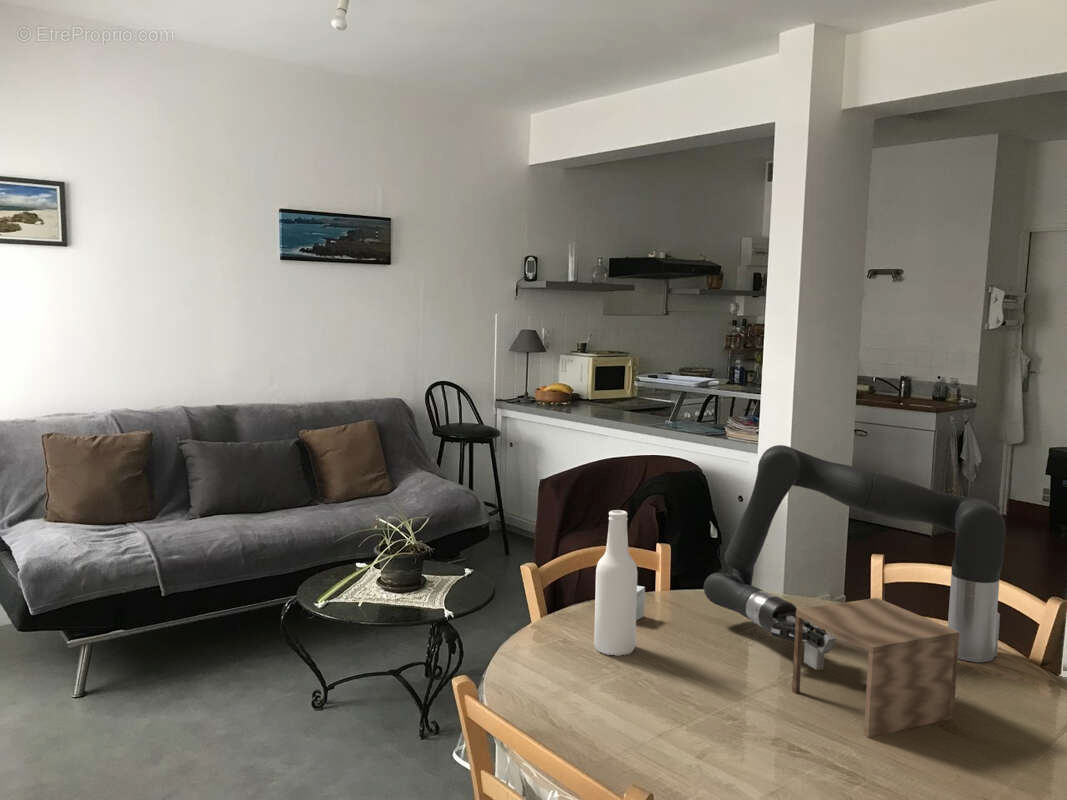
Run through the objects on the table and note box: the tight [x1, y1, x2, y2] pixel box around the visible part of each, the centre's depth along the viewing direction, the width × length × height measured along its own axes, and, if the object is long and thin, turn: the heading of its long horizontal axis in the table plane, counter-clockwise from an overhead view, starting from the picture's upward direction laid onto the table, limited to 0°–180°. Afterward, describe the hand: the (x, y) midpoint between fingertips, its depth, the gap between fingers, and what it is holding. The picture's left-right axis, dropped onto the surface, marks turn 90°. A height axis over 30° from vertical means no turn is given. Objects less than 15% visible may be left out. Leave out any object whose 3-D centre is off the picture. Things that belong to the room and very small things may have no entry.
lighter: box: [803, 633, 836, 670], centre depth 181 cm, size 7×2×8 cm, turn 21°
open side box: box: [791, 597, 959, 738], centre depth 168 cm, size 20×20×16 cm
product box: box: [636, 585, 646, 621], centre depth 212 cm, size 6×6×7 cm
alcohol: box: [593, 509, 638, 657], centre depth 192 cm, size 9×9×30 cm
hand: (827, 641), depth 179 cm, fingers closed on lighter, 1 cm apart
